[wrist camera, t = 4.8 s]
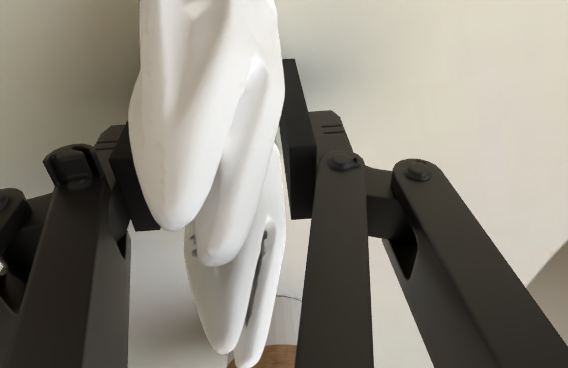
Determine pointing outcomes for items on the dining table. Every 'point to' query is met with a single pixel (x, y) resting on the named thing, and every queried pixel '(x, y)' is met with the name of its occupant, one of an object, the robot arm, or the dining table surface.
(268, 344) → the coffee cup
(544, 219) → the dining table surface
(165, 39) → the shaker set
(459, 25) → the dining table surface
